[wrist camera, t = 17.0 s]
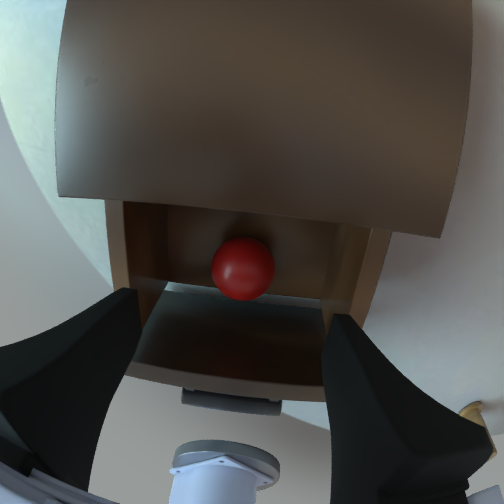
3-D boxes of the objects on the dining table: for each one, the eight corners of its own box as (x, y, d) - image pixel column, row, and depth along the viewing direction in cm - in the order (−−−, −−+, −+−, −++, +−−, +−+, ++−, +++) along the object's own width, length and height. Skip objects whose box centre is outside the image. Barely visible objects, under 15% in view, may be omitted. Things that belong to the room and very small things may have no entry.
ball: (242, 289, 17) (237, 324, 15) (204, 251, 16) (191, 280, 14) (286, 258, 16) (289, 289, 14) (248, 215, 15) (243, 239, 13)
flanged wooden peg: (460, 421, 26) (477, 468, 20) (455, 412, 25) (474, 462, 19) (482, 407, 25) (502, 453, 19) (478, 397, 24) (500, 446, 18)
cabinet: (372, 180, 16) (440, 239, 9) (143, 156, 16) (57, 197, 9) (393, -38, 10) (455, -101, 3) (168, -58, 11) (110, -127, 3)
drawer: (316, 375, 21) (323, 448, 16) (158, 355, 22) (131, 423, 16) (377, 117, 14) (436, 126, 8) (150, 94, 14) (83, 93, 8)
